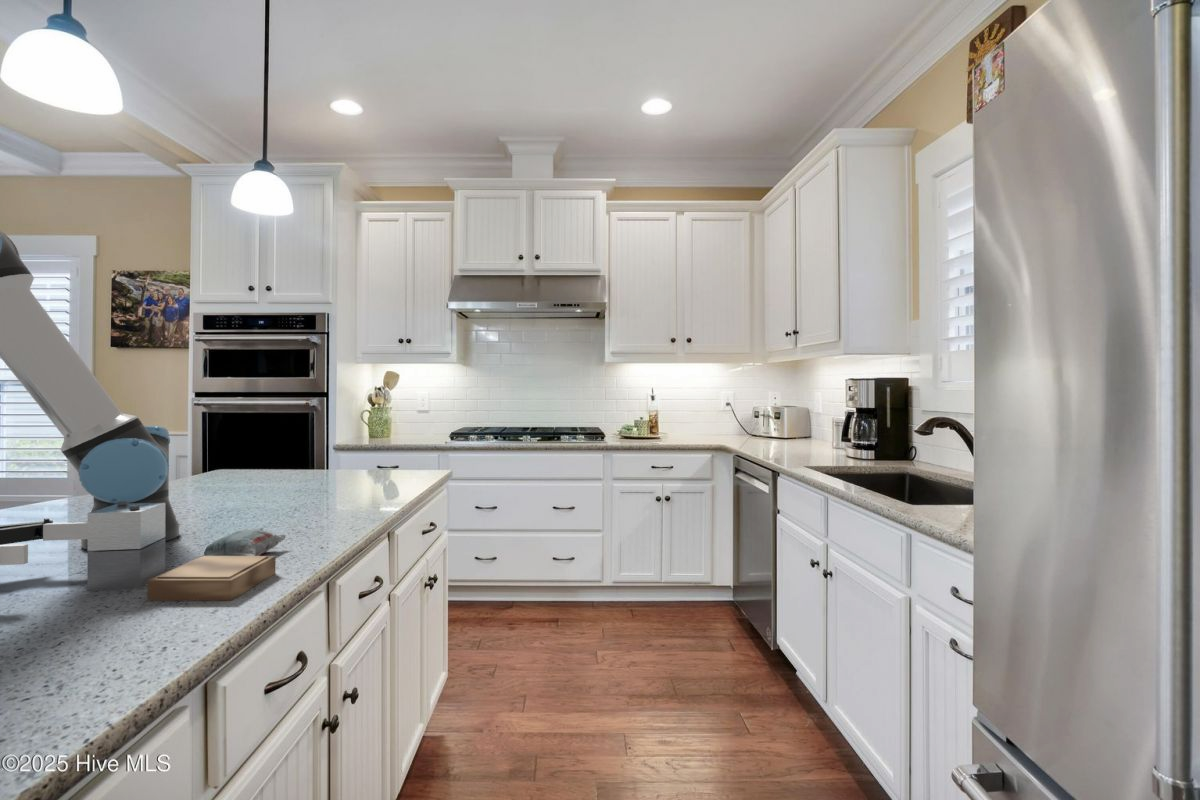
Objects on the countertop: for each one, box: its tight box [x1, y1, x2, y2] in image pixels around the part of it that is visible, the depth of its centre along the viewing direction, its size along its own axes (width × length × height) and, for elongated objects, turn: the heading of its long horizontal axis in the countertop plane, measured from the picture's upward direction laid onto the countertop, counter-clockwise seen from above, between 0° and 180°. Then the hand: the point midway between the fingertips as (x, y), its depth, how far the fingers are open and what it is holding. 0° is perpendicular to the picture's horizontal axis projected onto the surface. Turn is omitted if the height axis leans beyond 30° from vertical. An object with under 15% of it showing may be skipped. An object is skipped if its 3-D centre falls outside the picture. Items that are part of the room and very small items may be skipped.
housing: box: [87, 501, 166, 592], centre depth 88 cm, size 7×7×13 cm
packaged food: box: [203, 528, 286, 556], centre depth 102 cm, size 9×12×5 cm
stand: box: [146, 555, 277, 602], centre depth 87 cm, size 12×12×3 cm
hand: (61, 541), depth 86 cm, fingers open, 13 cm apart
